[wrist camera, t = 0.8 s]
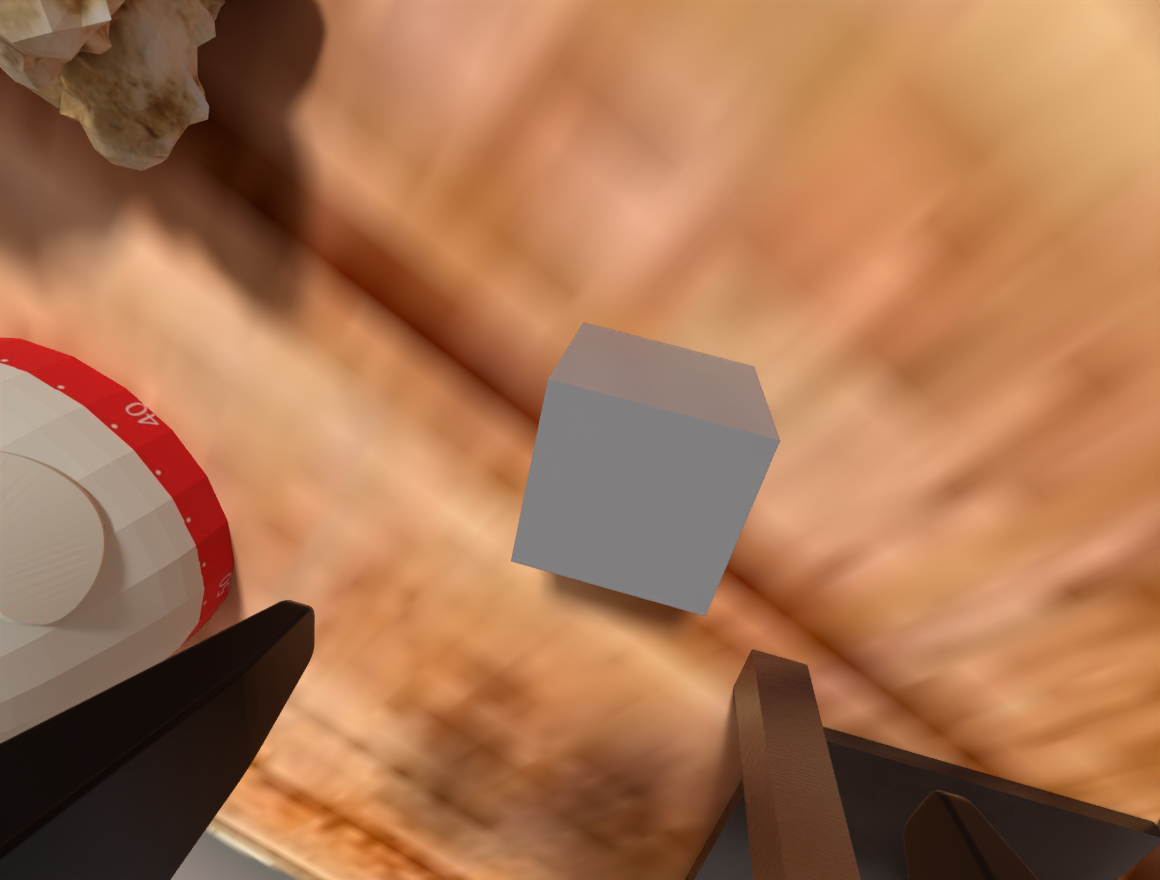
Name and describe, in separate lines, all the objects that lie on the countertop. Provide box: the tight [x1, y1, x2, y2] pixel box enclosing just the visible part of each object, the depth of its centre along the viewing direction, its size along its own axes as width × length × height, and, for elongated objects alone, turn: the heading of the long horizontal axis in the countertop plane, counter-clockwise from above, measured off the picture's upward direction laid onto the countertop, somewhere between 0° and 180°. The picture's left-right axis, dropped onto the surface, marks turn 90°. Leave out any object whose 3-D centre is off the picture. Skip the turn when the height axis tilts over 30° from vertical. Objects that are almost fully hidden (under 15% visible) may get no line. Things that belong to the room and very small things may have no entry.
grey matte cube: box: [511, 322, 780, 616], centre depth 15 cm, size 5×5×5 cm
